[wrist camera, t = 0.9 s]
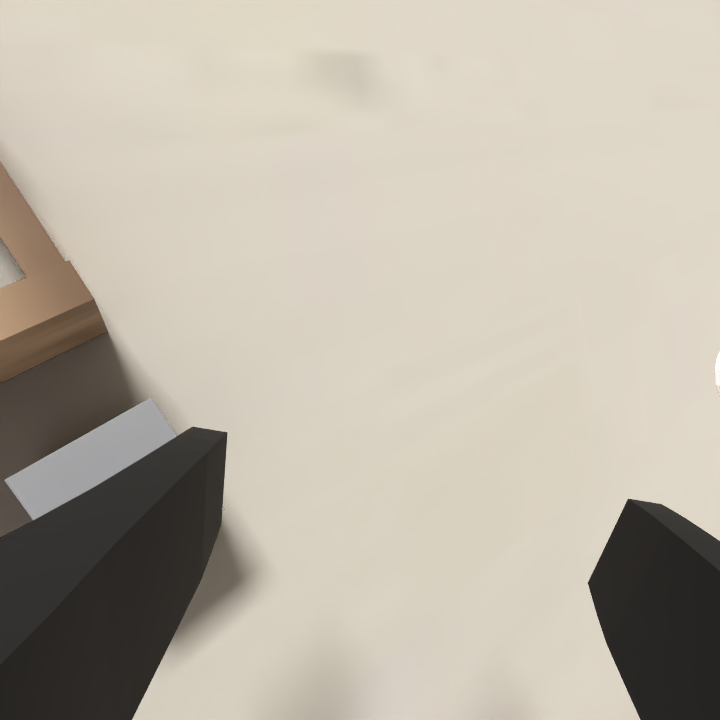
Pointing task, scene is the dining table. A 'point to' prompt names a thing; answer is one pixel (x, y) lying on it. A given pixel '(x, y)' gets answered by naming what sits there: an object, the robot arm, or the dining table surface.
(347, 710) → the dining table surface
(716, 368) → the white cup
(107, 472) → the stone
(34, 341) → the frame
